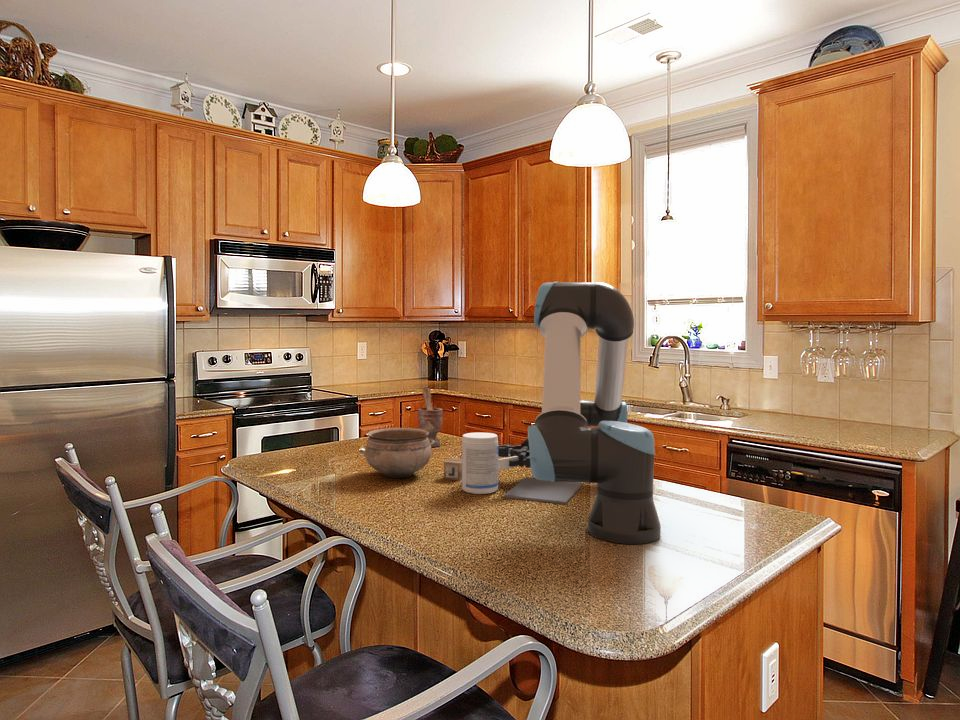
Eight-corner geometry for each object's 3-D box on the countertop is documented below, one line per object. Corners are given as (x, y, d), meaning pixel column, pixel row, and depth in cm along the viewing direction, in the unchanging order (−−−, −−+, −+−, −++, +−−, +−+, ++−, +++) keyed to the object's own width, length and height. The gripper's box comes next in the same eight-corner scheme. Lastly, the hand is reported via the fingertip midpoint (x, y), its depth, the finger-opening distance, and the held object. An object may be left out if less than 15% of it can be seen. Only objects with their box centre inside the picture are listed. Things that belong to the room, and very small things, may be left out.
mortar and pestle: (408, 443, 233) (409, 388, 231) (428, 441, 238) (429, 386, 237) (426, 448, 223) (426, 391, 222) (446, 446, 229) (447, 389, 227)
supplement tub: (505, 492, 169) (506, 436, 168) (474, 497, 164) (475, 439, 163) (484, 483, 177) (485, 430, 176) (454, 488, 172) (455, 433, 171)
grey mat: (566, 504, 159) (566, 501, 159) (503, 497, 164) (504, 494, 164) (582, 485, 178) (582, 482, 178) (525, 479, 183) (525, 477, 183)
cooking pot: (378, 489, 170) (379, 443, 170) (342, 475, 185) (342, 433, 184) (453, 475, 187) (453, 433, 186) (414, 463, 201) (415, 424, 200)
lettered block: (459, 481, 180) (459, 463, 180) (443, 479, 182) (443, 461, 182) (466, 476, 185) (467, 459, 185) (450, 475, 187) (450, 458, 187)
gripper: (571, 471, 175) (513, 483, 162) (509, 455, 194) (452, 465, 181) (571, 444, 175) (513, 453, 161) (509, 431, 194) (452, 438, 180)
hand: (481, 459), depth 171 cm, fingers open, 13 cm apart
